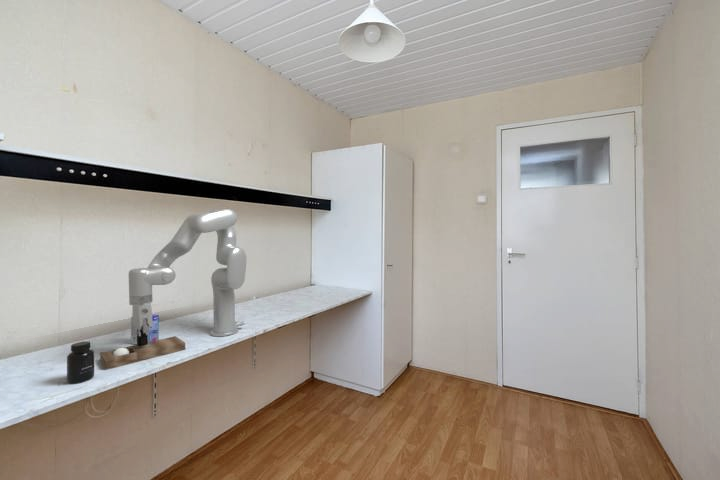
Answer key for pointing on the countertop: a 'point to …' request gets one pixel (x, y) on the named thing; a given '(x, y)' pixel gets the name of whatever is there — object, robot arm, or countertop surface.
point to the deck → (142, 352)
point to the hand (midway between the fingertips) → (142, 345)
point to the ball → (120, 352)
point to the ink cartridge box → (151, 332)
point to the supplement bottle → (80, 363)
